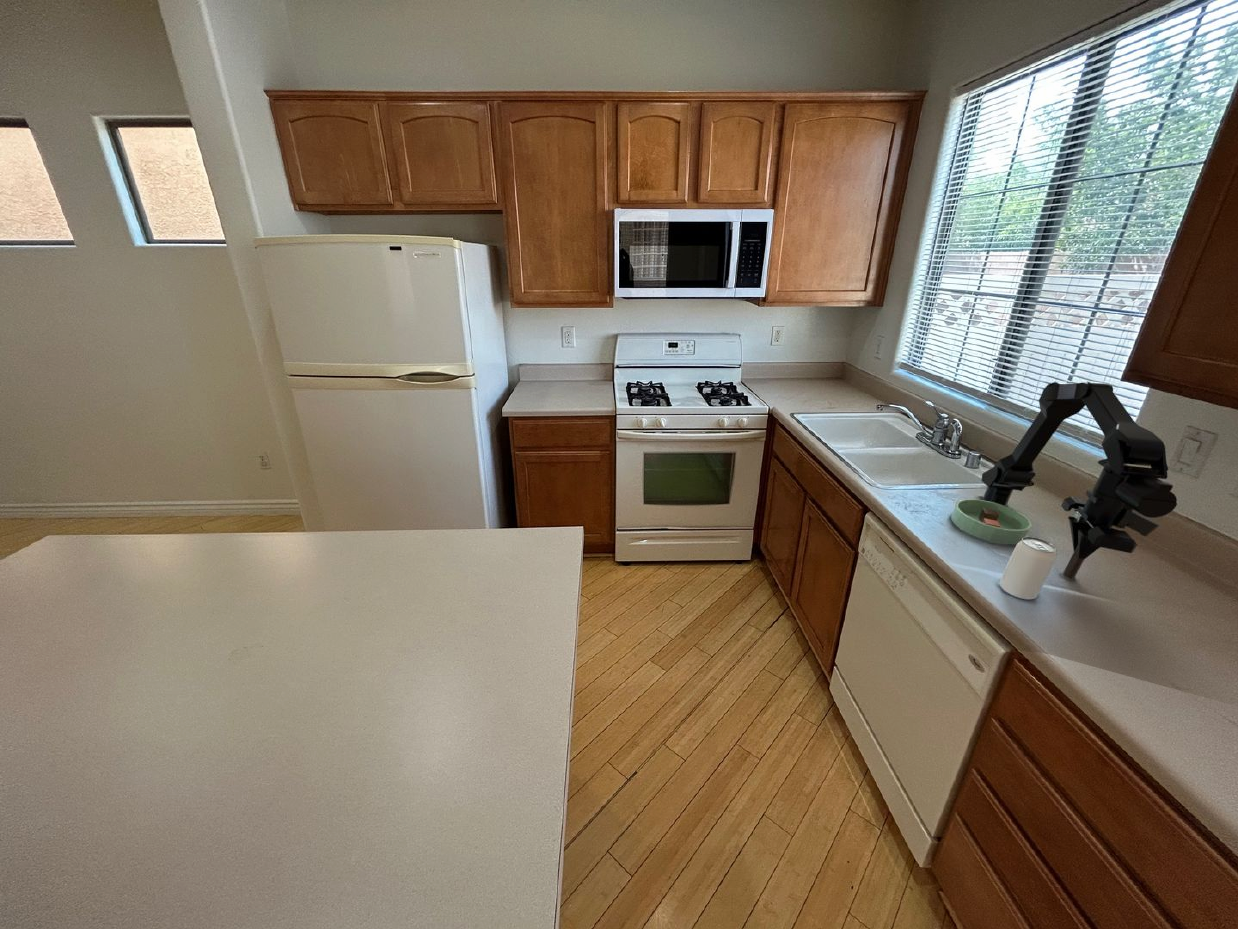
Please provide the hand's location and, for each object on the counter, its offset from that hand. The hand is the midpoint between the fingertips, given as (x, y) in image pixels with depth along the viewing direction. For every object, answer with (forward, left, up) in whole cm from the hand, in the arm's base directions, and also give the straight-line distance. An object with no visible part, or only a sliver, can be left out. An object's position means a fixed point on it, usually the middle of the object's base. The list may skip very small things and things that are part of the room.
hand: (1079, 555), depth 104 cm
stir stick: (0, 0, -6) cm, 6 cm away
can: (+11, -12, -6) cm, 17 cm away
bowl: (-17, -12, -6) cm, 22 cm away
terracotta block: (-14, -13, -5) cm, 19 cm away
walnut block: (-20, -12, -5) cm, 24 cm away
